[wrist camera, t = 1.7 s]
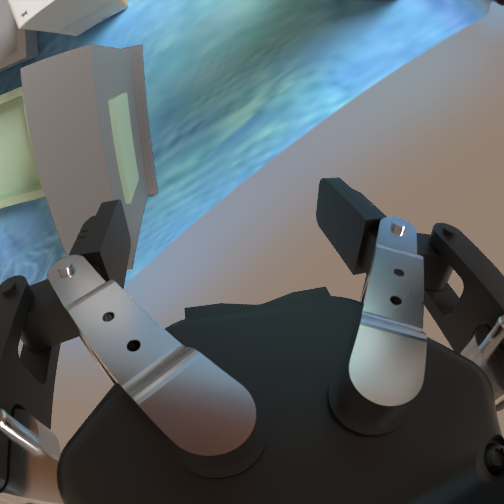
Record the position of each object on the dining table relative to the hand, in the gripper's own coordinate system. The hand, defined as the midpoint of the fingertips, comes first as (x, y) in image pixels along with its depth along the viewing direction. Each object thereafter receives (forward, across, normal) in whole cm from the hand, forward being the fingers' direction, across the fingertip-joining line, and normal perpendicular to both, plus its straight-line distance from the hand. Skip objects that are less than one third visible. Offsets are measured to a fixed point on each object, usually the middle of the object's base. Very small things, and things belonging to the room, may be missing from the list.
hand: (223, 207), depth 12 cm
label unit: (+22, +9, 0) cm, 24 cm away
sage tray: (+22, +23, -1) cm, 32 cm away
